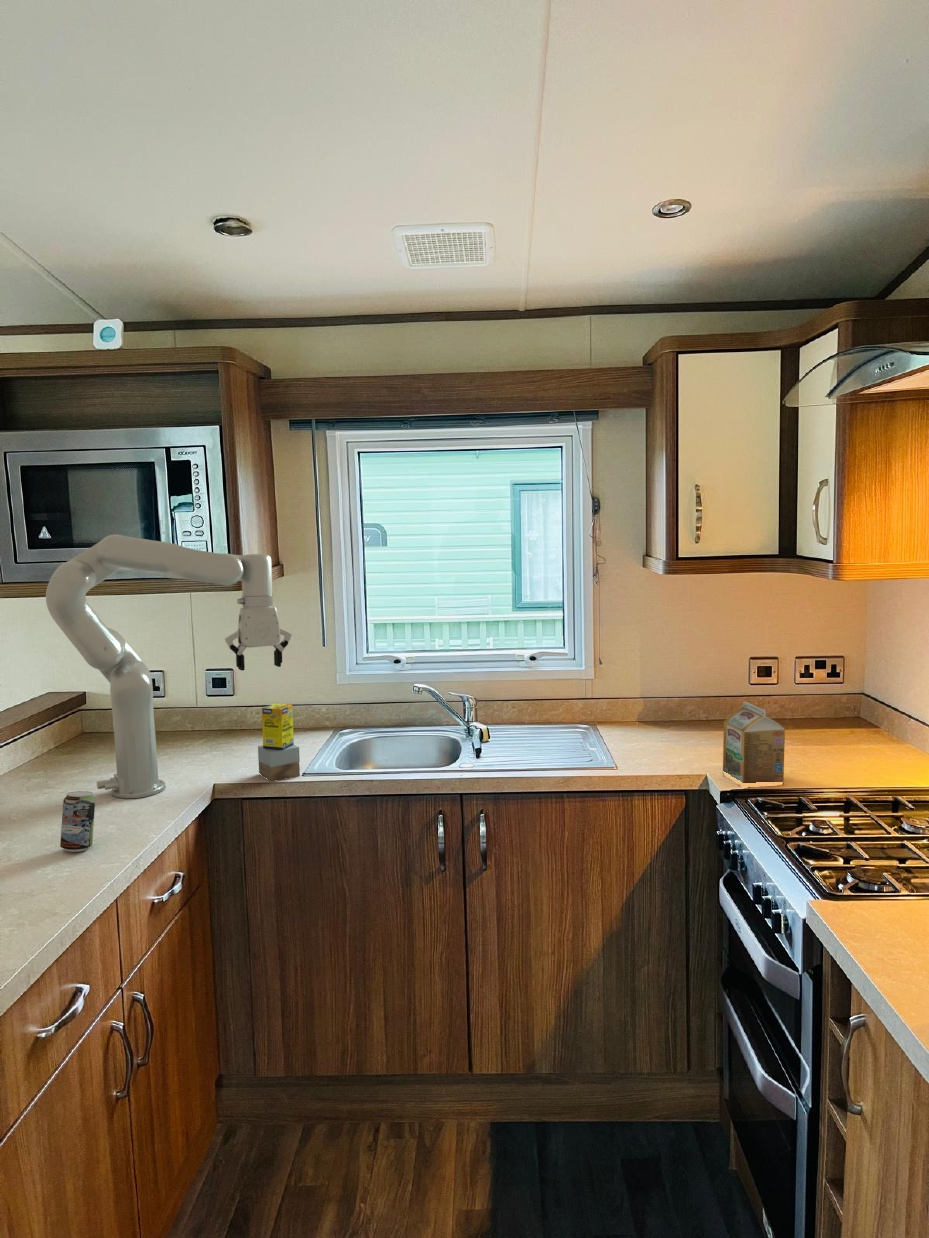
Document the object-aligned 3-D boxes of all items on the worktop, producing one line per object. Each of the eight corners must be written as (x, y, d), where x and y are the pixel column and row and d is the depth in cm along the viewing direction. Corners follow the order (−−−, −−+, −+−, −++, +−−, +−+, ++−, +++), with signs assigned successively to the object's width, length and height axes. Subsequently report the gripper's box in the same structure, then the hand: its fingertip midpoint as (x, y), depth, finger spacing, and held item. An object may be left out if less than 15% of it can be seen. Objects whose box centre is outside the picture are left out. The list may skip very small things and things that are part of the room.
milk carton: (783, 785, 206) (785, 709, 204) (743, 788, 205) (744, 711, 202) (761, 772, 217) (763, 700, 214) (722, 775, 215) (724, 702, 213)
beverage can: (54, 853, 173) (49, 797, 171) (81, 840, 180) (77, 785, 178) (77, 857, 171) (73, 800, 169) (105, 844, 177) (101, 788, 176)
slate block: (271, 767, 217) (270, 752, 216) (258, 760, 223) (257, 745, 223) (299, 761, 222) (299, 747, 221) (286, 755, 228) (285, 740, 228)
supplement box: (282, 750, 218) (281, 709, 217) (262, 748, 220) (260, 707, 219) (294, 744, 224) (293, 704, 222) (274, 743, 225) (273, 702, 224)
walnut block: (270, 783, 217) (270, 768, 217) (259, 775, 224) (258, 760, 223) (299, 777, 222) (299, 762, 221) (287, 770, 228) (287, 755, 228)
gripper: (228, 605, 210) (231, 673, 212) (295, 601, 219) (296, 666, 221) (219, 602, 216) (222, 669, 218) (284, 599, 225) (286, 662, 227)
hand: (259, 667), depth 219 cm, fingers open, 9 cm apart
